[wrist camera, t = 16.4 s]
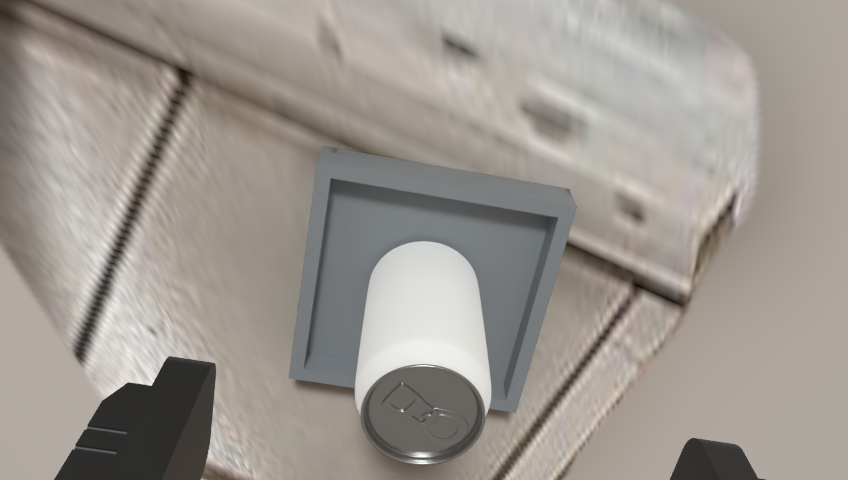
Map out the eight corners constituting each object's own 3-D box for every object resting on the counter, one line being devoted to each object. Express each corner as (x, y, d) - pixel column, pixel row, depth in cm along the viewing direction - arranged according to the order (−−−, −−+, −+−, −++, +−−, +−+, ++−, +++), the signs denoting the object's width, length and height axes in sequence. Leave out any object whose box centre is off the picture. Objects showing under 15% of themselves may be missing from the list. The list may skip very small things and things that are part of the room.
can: (431, 351, 47) (433, 494, 36) (346, 293, 45) (321, 425, 34) (500, 279, 45) (525, 409, 34) (415, 216, 43) (411, 331, 32)
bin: (295, 354, 48) (288, 378, 46) (323, 145, 42) (317, 161, 40) (511, 388, 49) (515, 412, 47) (569, 189, 43) (576, 206, 41)
